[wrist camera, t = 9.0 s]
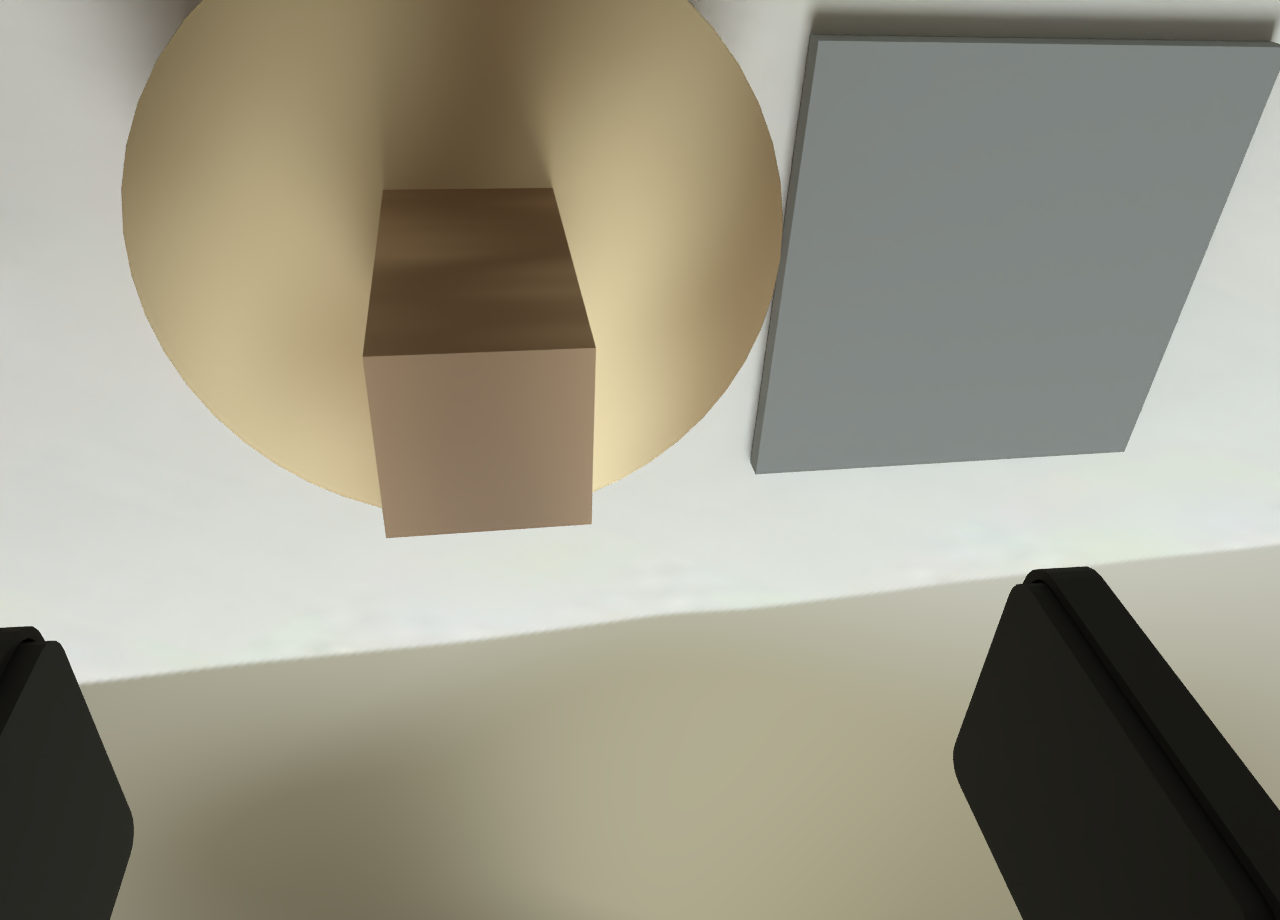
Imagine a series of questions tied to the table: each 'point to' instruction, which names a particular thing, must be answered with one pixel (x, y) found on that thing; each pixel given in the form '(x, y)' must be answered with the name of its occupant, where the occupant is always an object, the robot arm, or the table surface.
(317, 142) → the lid
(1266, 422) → the table surface
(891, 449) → the mat
